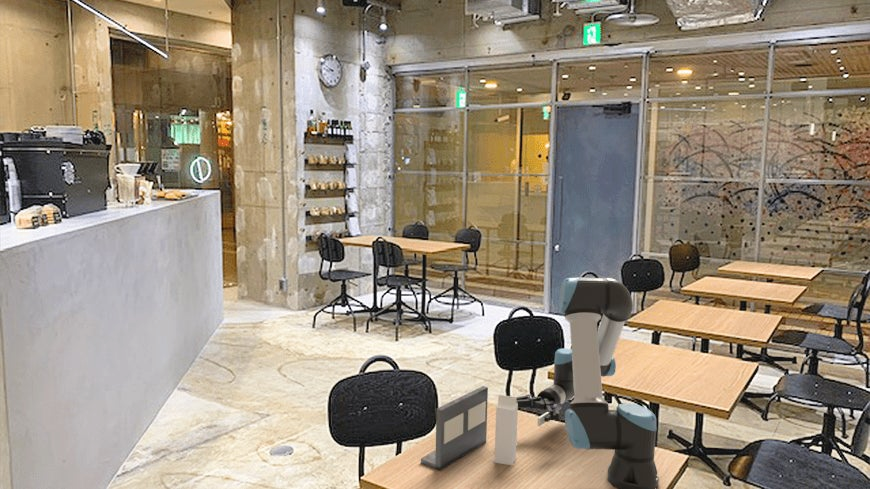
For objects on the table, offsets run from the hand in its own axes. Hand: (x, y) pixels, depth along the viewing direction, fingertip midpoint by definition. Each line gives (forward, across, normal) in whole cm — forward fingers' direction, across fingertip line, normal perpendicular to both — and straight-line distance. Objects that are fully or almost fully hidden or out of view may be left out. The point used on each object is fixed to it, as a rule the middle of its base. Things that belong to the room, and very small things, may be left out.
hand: (520, 416), depth 211 cm
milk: (+9, 0, -12) cm, 15 cm away
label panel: (+16, +16, -12) cm, 25 cm away
